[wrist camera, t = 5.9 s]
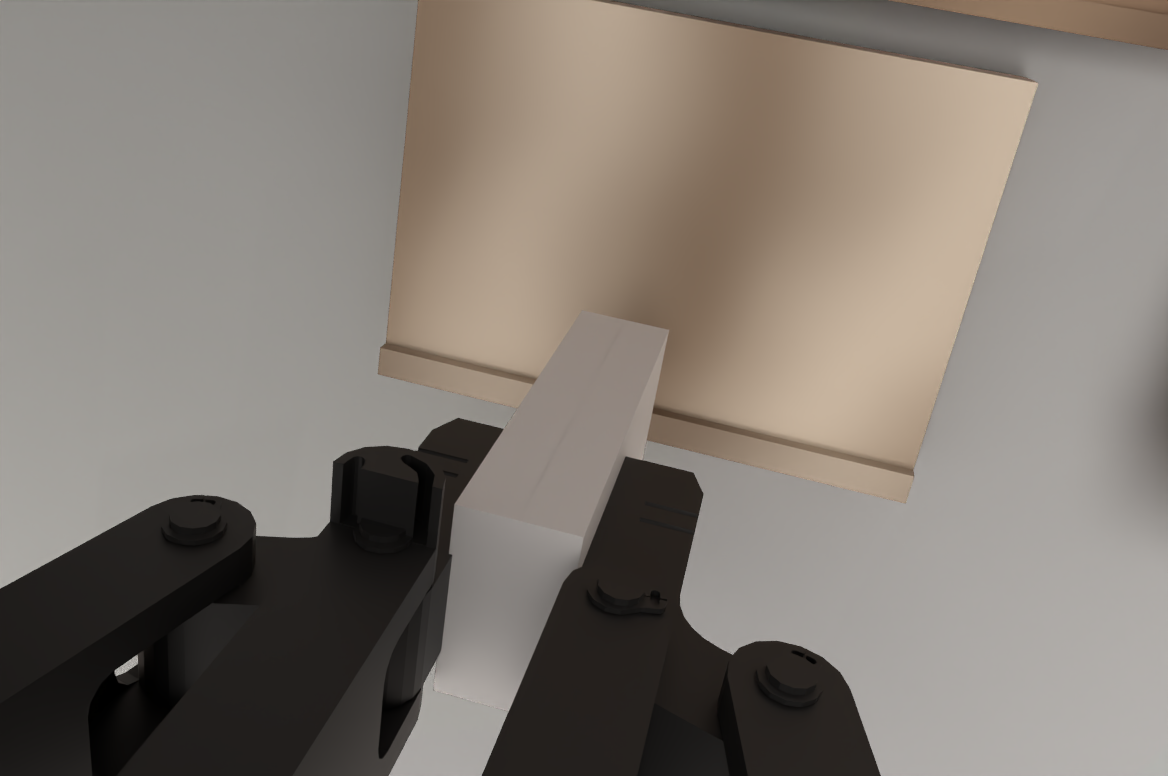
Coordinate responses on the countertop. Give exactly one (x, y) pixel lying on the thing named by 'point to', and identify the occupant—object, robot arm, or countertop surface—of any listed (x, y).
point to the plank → (698, 221)
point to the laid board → (1074, 16)
